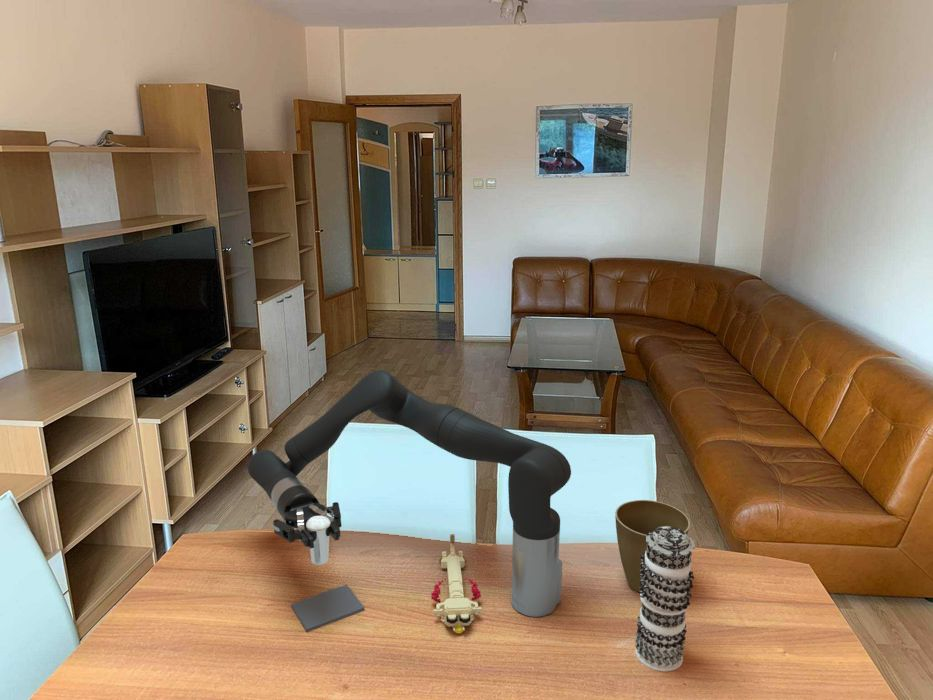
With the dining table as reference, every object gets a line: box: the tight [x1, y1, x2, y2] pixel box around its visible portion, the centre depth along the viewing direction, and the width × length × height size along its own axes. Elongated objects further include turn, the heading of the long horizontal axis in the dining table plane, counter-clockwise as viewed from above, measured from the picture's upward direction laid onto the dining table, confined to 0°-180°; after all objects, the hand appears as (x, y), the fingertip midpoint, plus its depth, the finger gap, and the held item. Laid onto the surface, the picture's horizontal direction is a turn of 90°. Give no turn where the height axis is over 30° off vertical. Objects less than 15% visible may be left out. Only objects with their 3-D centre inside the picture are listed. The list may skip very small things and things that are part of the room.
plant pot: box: [614, 499, 691, 593], centre depth 142 cm, size 15×15×16 cm
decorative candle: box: [635, 526, 696, 673], centre depth 120 cm, size 9×9×25 cm
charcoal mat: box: [290, 584, 365, 633], centre depth 136 cm, size 12×9×1 cm
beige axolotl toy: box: [430, 533, 482, 634], centre depth 139 cm, size 10×9×25 cm
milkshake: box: [306, 516, 334, 566], centre depth 130 cm, size 4×5×10 cm
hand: (324, 539), depth 128 cm, fingers closed on milkshake, 4 cm apart
